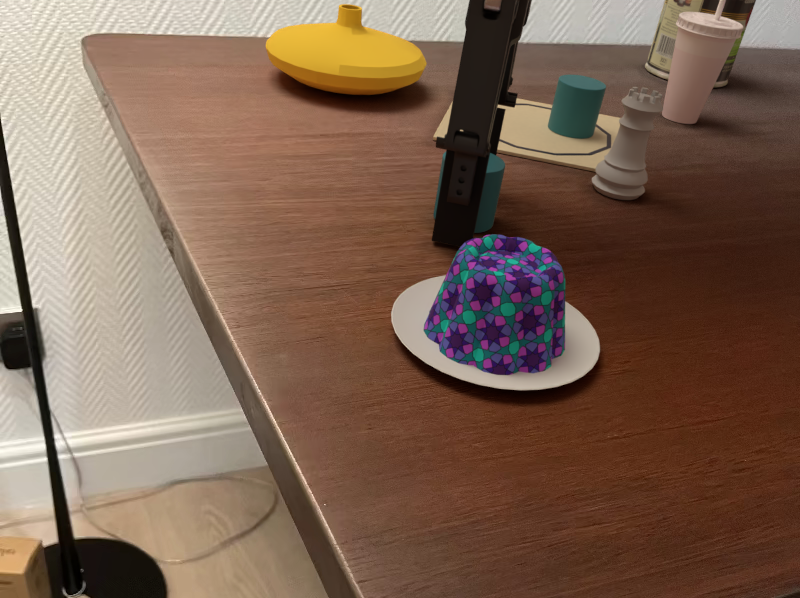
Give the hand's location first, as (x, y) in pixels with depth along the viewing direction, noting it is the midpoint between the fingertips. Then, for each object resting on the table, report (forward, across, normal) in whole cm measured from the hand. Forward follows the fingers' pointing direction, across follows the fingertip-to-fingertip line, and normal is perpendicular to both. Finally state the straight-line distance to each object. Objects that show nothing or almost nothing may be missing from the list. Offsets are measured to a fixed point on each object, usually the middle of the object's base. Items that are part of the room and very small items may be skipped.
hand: (461, 215), depth 59 cm
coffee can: (0, -55, +20) cm, 59 cm away
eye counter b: (0, -24, +7) cm, 25 cm away
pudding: (0, +15, +4) cm, 16 cm away
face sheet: (0, -23, +4) cm, 23 cm away
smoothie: (0, -36, +18) cm, 40 cm away
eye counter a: (0, 0, 0) cm, 0 cm away
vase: (+1, -26, -16) cm, 30 cm away
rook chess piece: (0, -12, +11) cm, 16 cm away
